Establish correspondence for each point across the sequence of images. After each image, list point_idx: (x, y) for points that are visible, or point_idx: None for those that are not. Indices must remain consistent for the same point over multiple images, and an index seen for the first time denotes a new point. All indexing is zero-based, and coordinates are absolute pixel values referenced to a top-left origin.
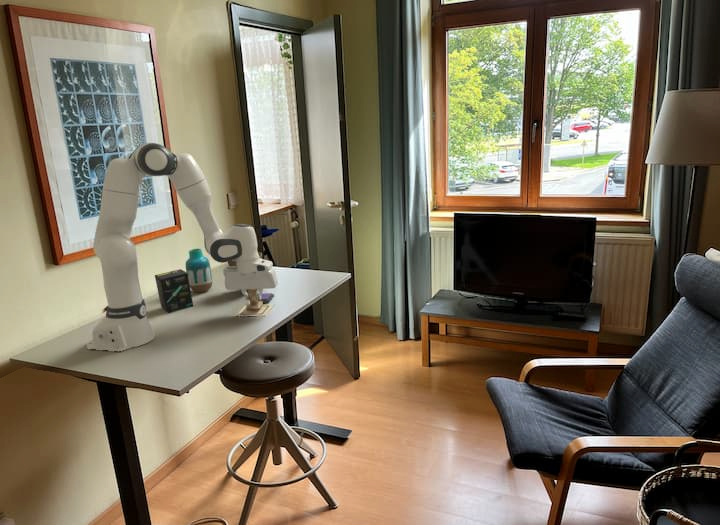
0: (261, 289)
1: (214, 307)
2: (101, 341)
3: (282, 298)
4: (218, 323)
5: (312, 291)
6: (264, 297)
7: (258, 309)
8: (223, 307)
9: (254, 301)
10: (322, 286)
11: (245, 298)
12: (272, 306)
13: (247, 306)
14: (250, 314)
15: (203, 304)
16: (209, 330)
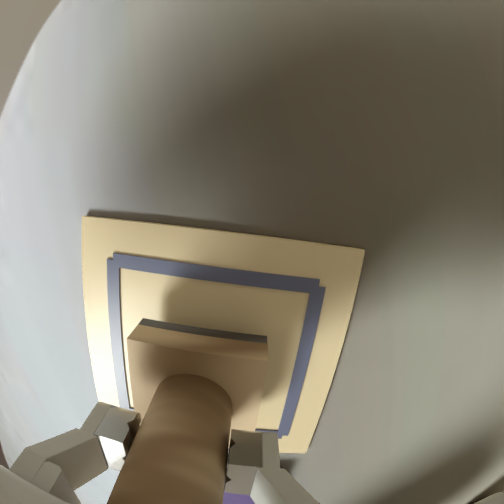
0: (15, 466)
1: (472, 422)
2: None
3: (109, 475)
4: (457, 136)
5: None
6: None
7: (146, 320)
8: (436, 427)
9: (166, 396)
10: None
11: (275, 443)
12: (97, 392)
13: (252, 355)
14: (218, 266)
15: (496, 441)
16: (462, 32)
